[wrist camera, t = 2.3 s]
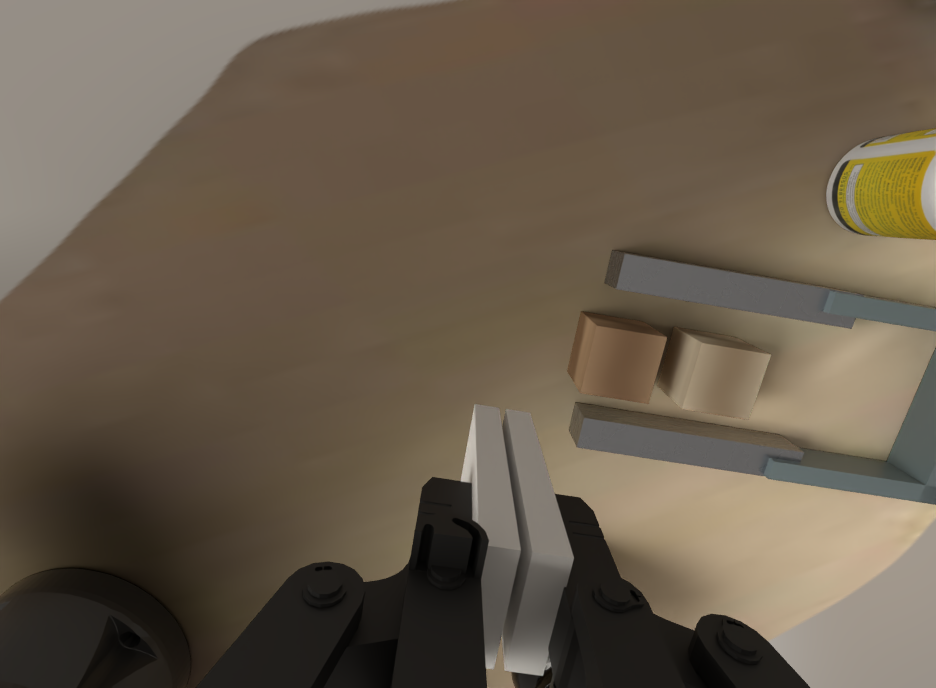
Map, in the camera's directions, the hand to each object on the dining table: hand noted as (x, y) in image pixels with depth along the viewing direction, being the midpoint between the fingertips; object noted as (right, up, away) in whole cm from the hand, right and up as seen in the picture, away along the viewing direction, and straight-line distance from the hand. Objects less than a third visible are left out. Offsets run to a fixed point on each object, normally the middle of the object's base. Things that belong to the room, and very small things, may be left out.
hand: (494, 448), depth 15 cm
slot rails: (+14, +2, +16) cm, 22 cm away
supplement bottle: (+23, +12, +14) cm, 29 cm away
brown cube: (+8, +3, +16) cm, 18 cm away
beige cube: (+14, +2, +17) cm, 22 cm away
